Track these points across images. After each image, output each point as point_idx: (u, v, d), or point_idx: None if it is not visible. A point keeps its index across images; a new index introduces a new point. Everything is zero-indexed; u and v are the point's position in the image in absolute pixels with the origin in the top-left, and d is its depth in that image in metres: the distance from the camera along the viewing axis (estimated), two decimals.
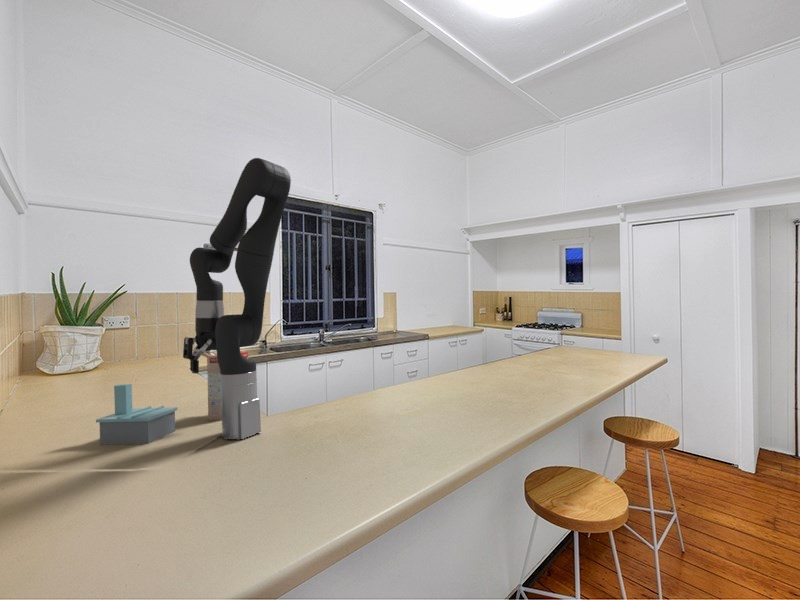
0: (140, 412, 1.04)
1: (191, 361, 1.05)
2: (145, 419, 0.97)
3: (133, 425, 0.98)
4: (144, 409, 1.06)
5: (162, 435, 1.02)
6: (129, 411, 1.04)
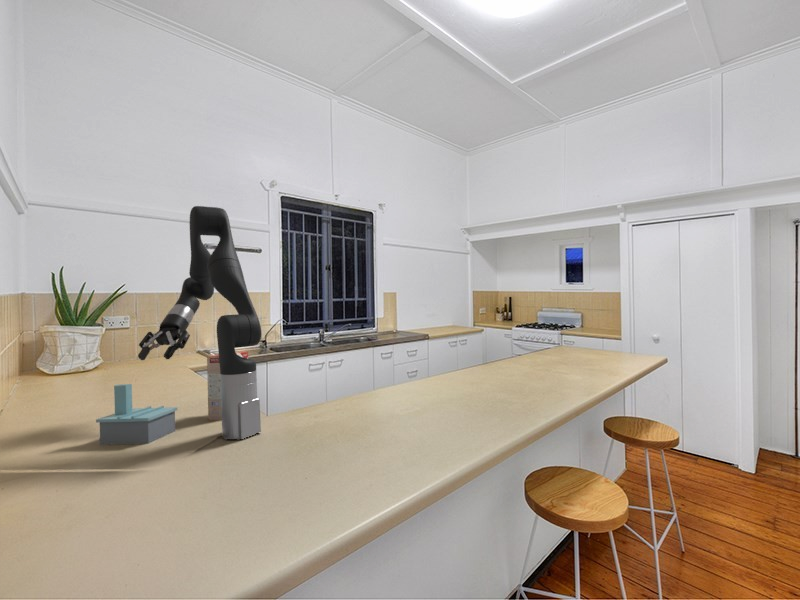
0: (140, 412, 1.04)
1: None
2: (145, 419, 0.97)
3: (133, 425, 0.98)
4: (144, 409, 1.06)
5: (162, 435, 1.02)
6: (129, 411, 1.04)
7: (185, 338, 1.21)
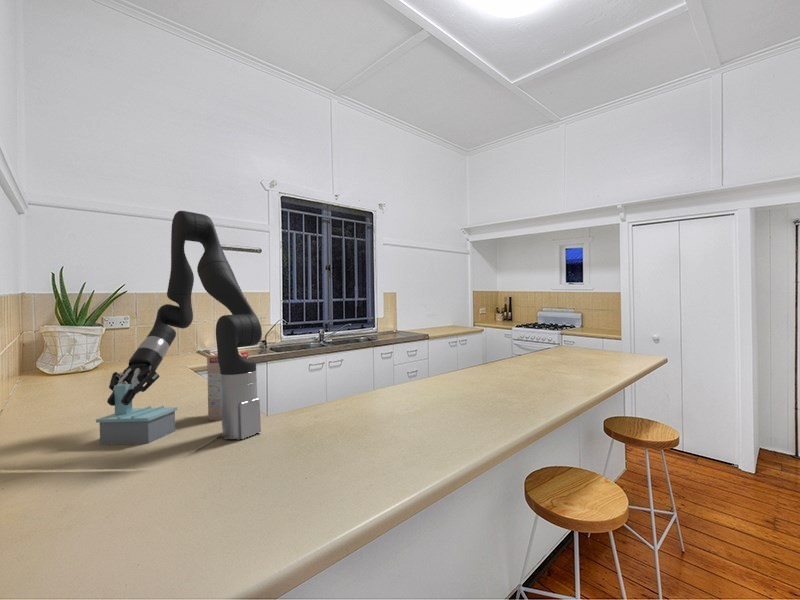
0: (140, 412, 1.04)
1: None
2: (145, 419, 0.97)
3: (133, 425, 0.98)
4: (144, 409, 1.06)
5: (162, 435, 1.02)
6: (129, 411, 1.04)
7: (150, 380, 1.07)
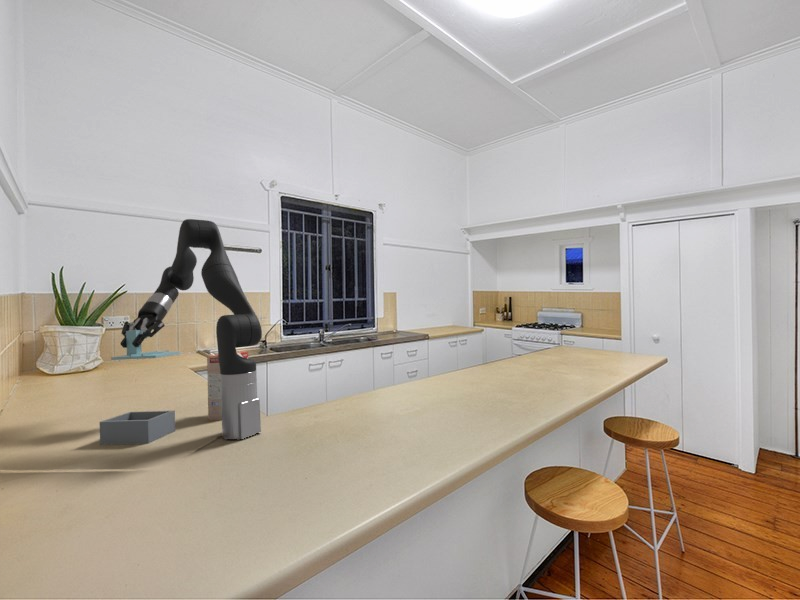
0: None
1: None
2: (153, 356, 1.15)
3: (133, 425, 0.98)
4: (151, 352, 1.24)
5: (162, 435, 1.02)
6: (139, 353, 1.21)
7: (157, 328, 1.24)
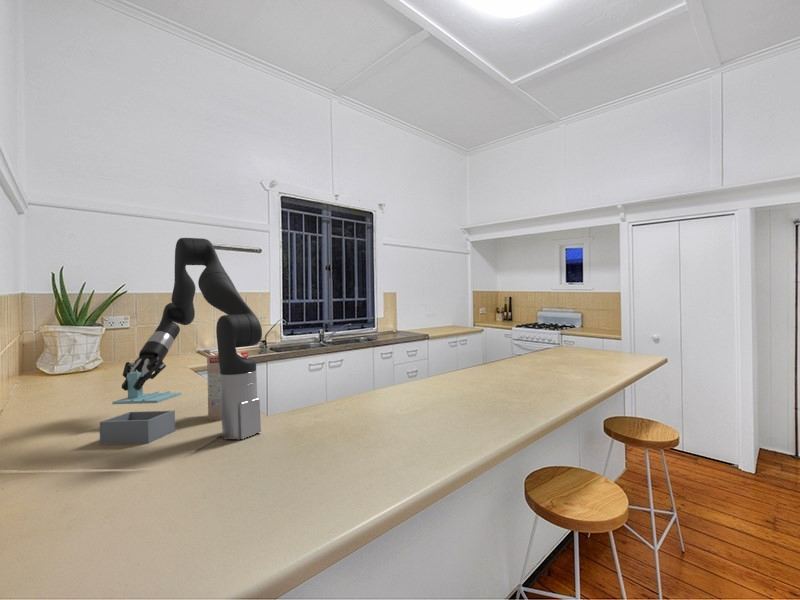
0: (149, 396, 1.21)
1: None
2: (154, 401, 1.14)
3: (133, 425, 0.98)
4: (153, 394, 1.23)
5: (162, 435, 1.02)
6: (140, 395, 1.21)
7: (158, 369, 1.24)
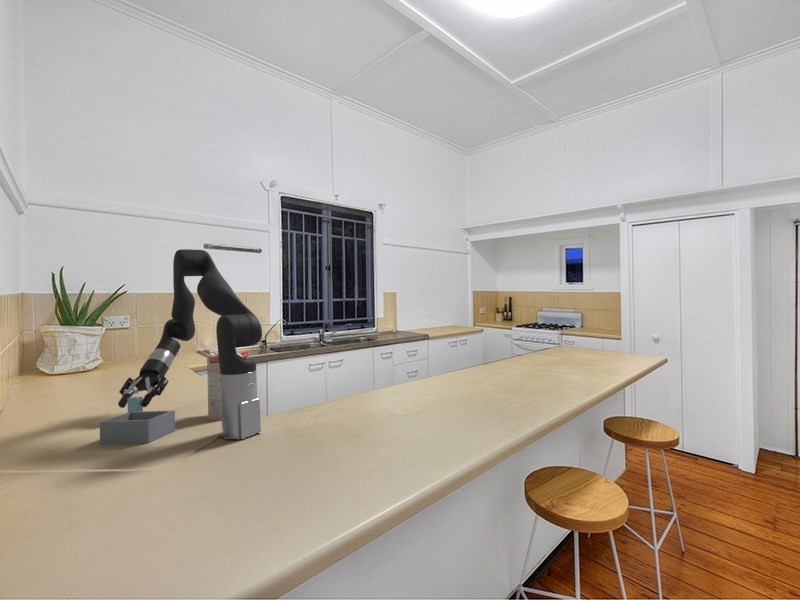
0: None
1: None
2: None
3: (133, 425, 0.98)
4: None
5: (162, 435, 1.02)
6: None
7: (163, 385, 1.24)
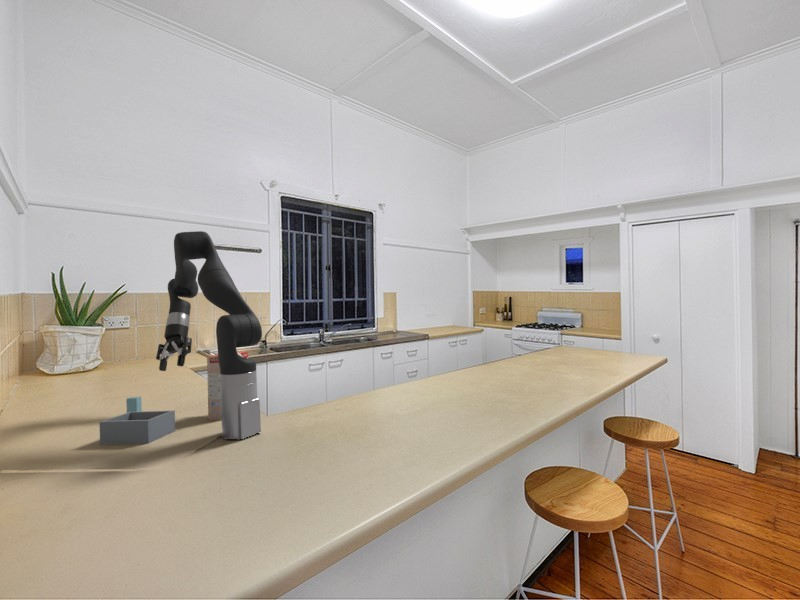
0: None
1: None
2: None
3: (133, 425, 0.98)
4: None
5: (162, 435, 1.02)
6: None
7: (188, 343, 1.35)
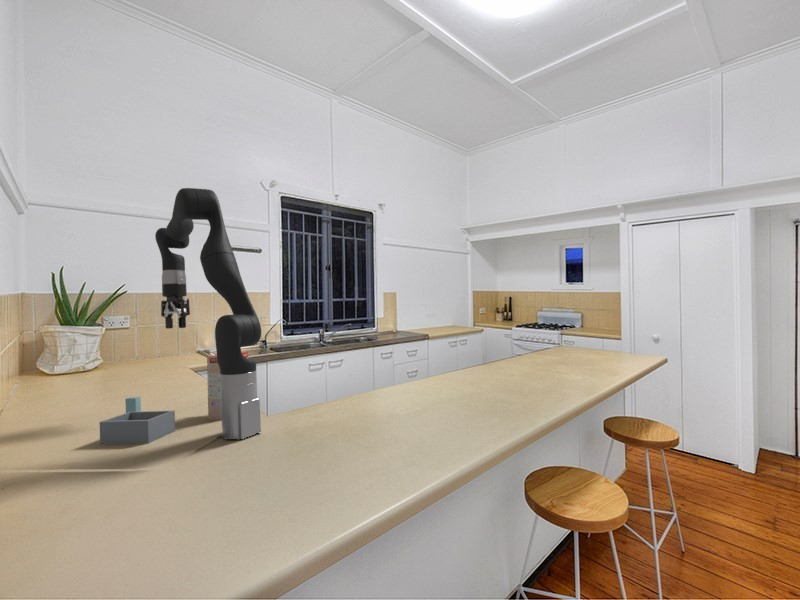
0: None
1: None
2: None
3: (133, 425, 0.98)
4: None
5: (162, 435, 1.02)
6: None
7: (185, 305, 1.31)
